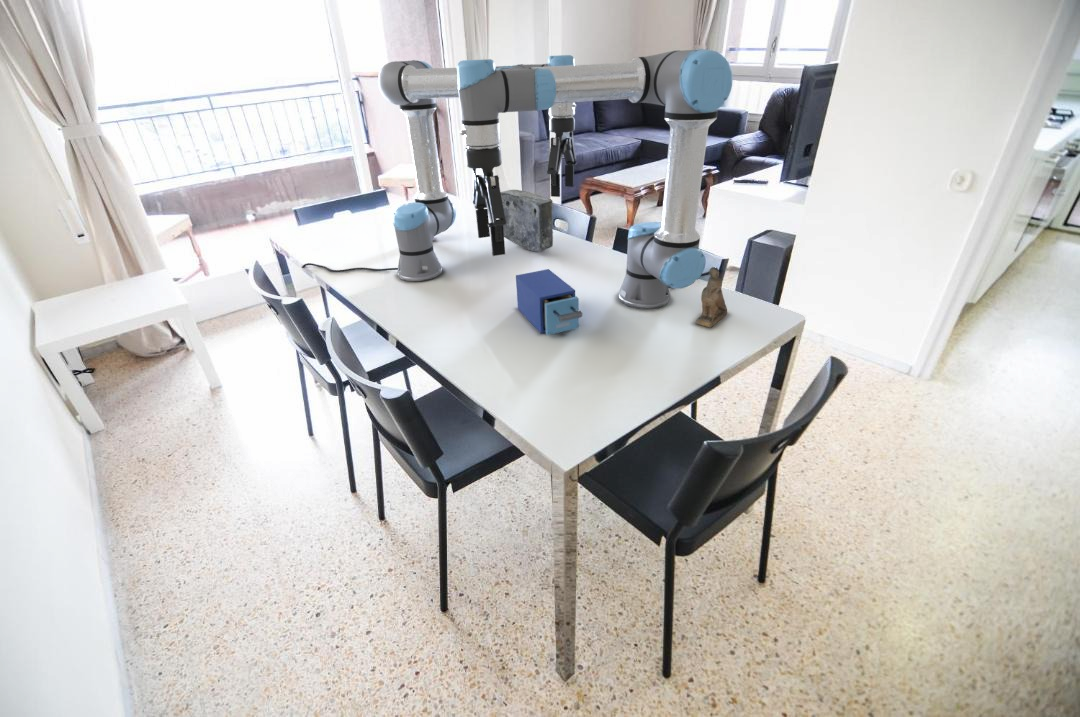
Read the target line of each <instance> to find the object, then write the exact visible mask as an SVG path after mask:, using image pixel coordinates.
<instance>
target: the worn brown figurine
mask: <svg viewBox="0 0 1080 717" xmlns="http://www.w3.org/2000/svg"><path fill="white" fill-rule="evenodd" d="M708 272H709V273H710V274H709V275H710V276H709V278H708V279H707V280H708V281H707V284H706V286H705V287H704V288H703V290H702V292H701V297H700V298H701V309H702V312H701V315H700V316H699V317H698V318H697V319H696V321H695V324H696V325H699V326H703V327H705V328H712V327H714V326H715V325H716V324H717V323H719V321H721V320H722V319H723V318H725V317H726V316H727V315H728V307H727V304H726V301H725V298H724V293H723V290H722V287H723V281H722V279H721V278H720V270H719V268H717V267H716V268H715V266H712V267H711V268H710V269H709V270H708Z"/></svg>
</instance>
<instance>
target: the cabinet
mask: <svg viewBox="0 0 1080 717" xmlns="http://www.w3.org/2000/svg"><path fill="white" fill-rule="evenodd" d="M515 286H516V287H515V288H516V300H517V301H516V302H517V310H518V311H519V312H520V313H521V314H522V315H523V316H524V318H526V319H527V320H528V321H529V322H530V324H531V325H532V326H533V327H534V328H535V329H536V330H537V332H539V333H540V334H546V329H545V328H544V327H543V300H545V299H549V298H554V297H559V296H563V295H568V294H570V295H571V296H572V297H576V289H575V288H573V287H572V286H571V285H569V284H568V283H567V282H566V281H564V280H563V279H562V278H561V277H559V276H558V275H557V274H555V273H554V271H552V270H550V269H549V268H546V269H541V270H537V271H531V272H526V273H520V274H516V275H515Z"/></svg>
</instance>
